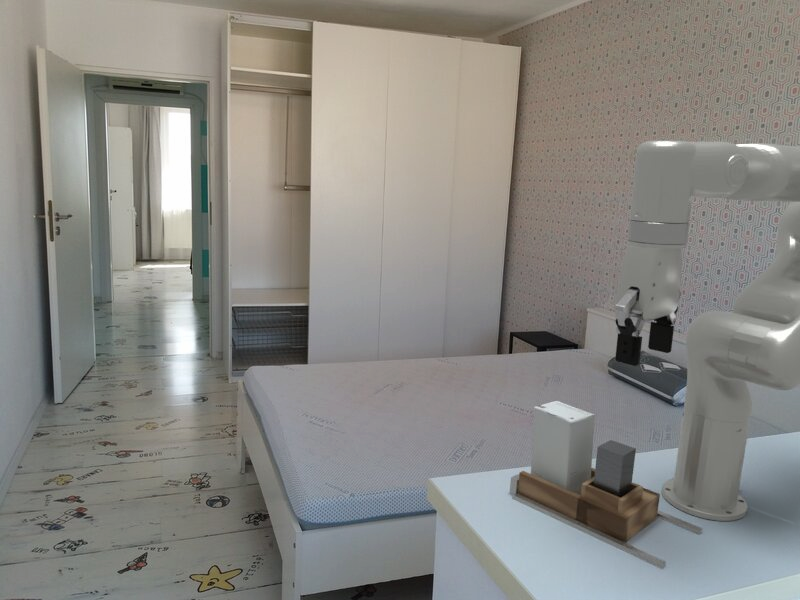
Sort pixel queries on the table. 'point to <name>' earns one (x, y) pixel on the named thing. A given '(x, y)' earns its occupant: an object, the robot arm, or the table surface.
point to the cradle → (595, 505)
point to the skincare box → (562, 445)
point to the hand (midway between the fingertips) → (643, 356)
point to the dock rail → (597, 533)
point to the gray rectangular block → (614, 468)
